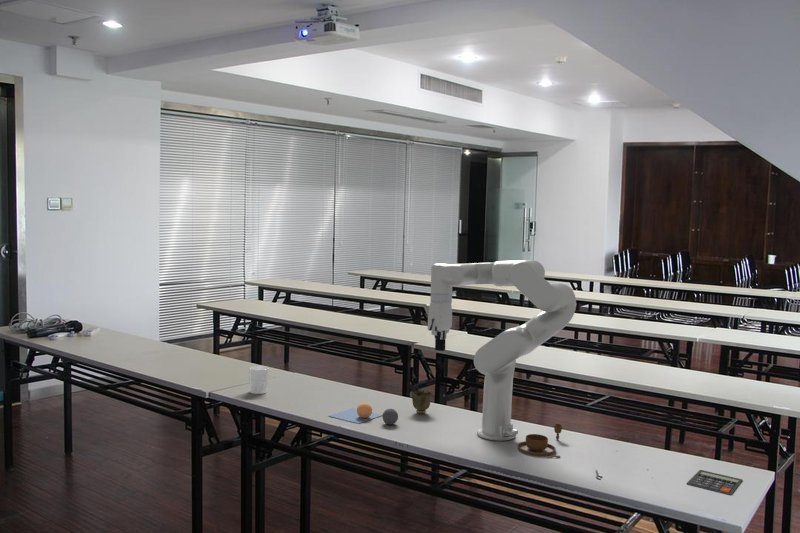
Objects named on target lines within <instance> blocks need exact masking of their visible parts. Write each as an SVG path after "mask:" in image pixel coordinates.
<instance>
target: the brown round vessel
mask: <svg viewBox="0 0 800 533" xmlns="http://www.w3.org/2000/svg"><path fill="white" fill-rule="evenodd" d="M432 395H433V393H432V391H429V390H427V392H425V390H424V389H422V390H420V389H418V390H412V391H411V398H412V400H411V401H412V406H413V408H414V409H415V410H416V411H415V412H416V414H418V415H425V414H426V413H427V410H429V407H430V405H431V401H432Z"/></svg>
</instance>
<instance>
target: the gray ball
mask: <svg viewBox="0 0 800 533" xmlns="http://www.w3.org/2000/svg"><path fill="white" fill-rule="evenodd" d="M382 415H383V416H381V417H382V421H383V422H384V423H385V424H387V425H389V426H391V425H394V424H396V423H397V421H398V420H399V413H398V411H397V410H395V409H394V408H387V409H386V410H384V411H383V413H382Z"/></svg>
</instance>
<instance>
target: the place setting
mask: <svg viewBox="0 0 800 533" xmlns="http://www.w3.org/2000/svg"><path fill="white" fill-rule="evenodd" d="M562 430H563V425H562V424H560V423H554V433H556V435H555V436H556V437H555V439H556V441H557V442H558V441H560V434H561V433H562ZM523 446H526V448H528V449H529V451H528V450H525V449H523V448H522V447H523ZM516 448H517V450H518V451H519V452H521V453H523V454H525V455H527V456H528V455H529V456H532V457H533V456H534V457H546V459H553V458H554V459H559V458H561V456H560V455H555V453H556V450H557V449H556V447H555V446H554V445H553V444H550V443H549V438H548V437H547V436H546V435H543V434H539V433H536V434H535V433H532V434H531V433H530V434H527V435H525V441H521V442H518V443H517V447H516ZM546 449H550V450H551V451H549V452H543V451H544V450H546ZM548 456H550V457H548Z"/></svg>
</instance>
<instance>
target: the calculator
mask: <svg viewBox="0 0 800 533" xmlns="http://www.w3.org/2000/svg"><path fill="white" fill-rule="evenodd" d="M742 482H743V479H742V478H737V477H733V476H729V475H724V474H721V473H717V472H712V471H707V470H702V469H699V470H698V471H697V472H696V473H695V474H694V475H693V476H692V477H691V478H690V479H689V480H688V481H687V482H686V485H687V486H691V487H695V488H699V489H703V490H707V491H710V492H711V491H712V492H716V493H719V494H724V495H728V496H732V495H733V494H734V493H735V492H736V489H737V488H739V486H740V485H741V484H742Z"/></svg>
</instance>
